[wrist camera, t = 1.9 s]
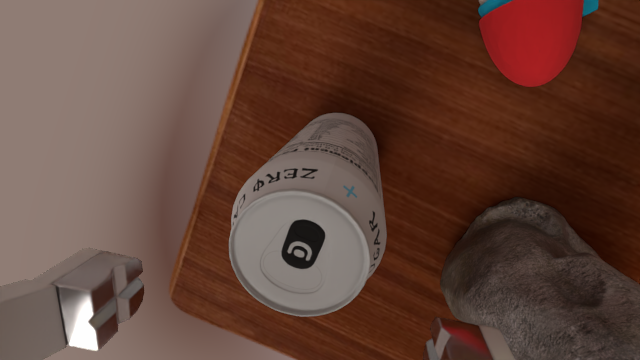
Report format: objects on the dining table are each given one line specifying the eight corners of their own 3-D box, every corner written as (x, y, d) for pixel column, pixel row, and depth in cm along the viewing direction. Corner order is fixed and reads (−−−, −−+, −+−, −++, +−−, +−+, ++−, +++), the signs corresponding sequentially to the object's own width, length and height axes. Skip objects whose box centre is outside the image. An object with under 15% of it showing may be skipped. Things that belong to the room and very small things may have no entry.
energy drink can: (288, 171, 26) (195, 292, 12) (314, 98, 24) (236, 142, 10) (358, 198, 26) (347, 353, 12) (390, 128, 24) (422, 216, 10)
